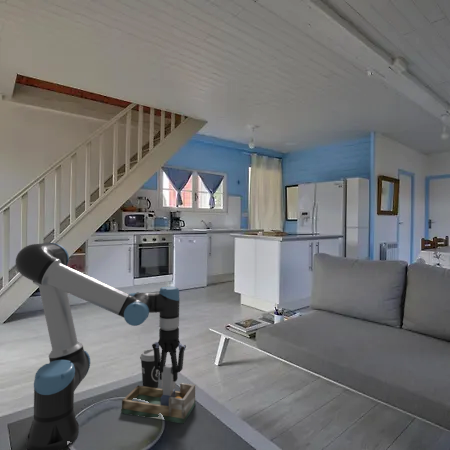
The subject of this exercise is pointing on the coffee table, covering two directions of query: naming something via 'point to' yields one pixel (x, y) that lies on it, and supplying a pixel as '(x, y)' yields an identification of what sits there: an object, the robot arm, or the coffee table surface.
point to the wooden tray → (172, 413)
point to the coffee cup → (149, 369)
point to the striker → (167, 385)
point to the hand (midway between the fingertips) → (168, 388)
